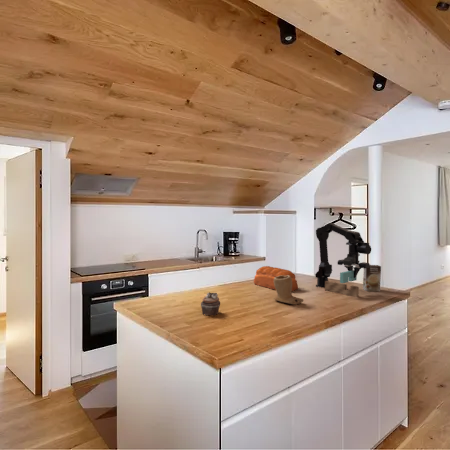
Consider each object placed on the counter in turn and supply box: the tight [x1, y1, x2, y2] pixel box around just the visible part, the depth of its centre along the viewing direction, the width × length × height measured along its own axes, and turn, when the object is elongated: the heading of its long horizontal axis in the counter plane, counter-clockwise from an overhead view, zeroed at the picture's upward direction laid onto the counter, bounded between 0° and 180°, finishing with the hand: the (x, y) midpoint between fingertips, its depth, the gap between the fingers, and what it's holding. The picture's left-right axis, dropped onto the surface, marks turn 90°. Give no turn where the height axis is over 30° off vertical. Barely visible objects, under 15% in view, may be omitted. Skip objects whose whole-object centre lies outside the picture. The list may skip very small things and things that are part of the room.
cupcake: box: [200, 292, 221, 316], centre depth 171 cm, size 10×10×10 cm
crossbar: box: [339, 269, 358, 284], centre depth 210 cm, size 15×2×6 cm, turn 129°
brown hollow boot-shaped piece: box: [273, 275, 304, 306], centre depth 192 cm, size 15×12×15 cm
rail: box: [324, 280, 359, 298], centre depth 214 cm, size 22×2×6 cm, turn 39°
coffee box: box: [362, 264, 382, 292], centre depth 224 cm, size 9×6×16 cm
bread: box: [253, 265, 299, 292], centre depth 232 cm, size 16×31×13 cm, turn 36°
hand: (352, 277), depth 213 cm, fingers closed on crossbar, 2 cm apart
